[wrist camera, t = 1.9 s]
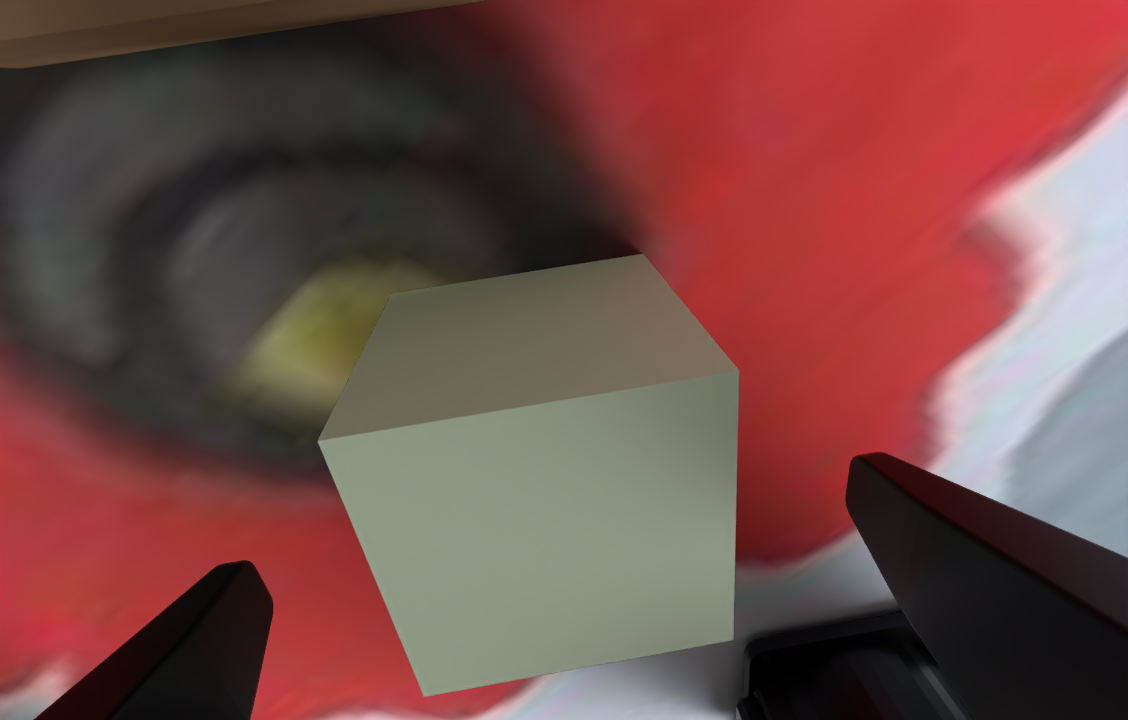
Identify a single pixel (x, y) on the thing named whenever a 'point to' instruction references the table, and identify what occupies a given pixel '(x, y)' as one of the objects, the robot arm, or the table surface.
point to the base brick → (164, 23)
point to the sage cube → (542, 472)
